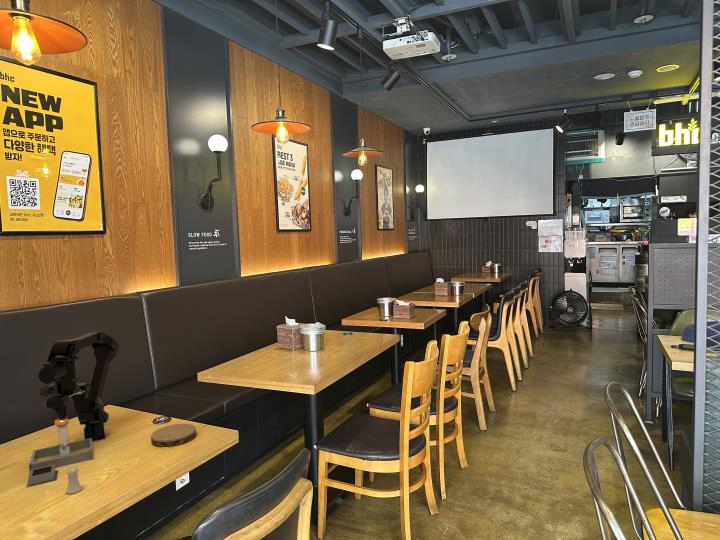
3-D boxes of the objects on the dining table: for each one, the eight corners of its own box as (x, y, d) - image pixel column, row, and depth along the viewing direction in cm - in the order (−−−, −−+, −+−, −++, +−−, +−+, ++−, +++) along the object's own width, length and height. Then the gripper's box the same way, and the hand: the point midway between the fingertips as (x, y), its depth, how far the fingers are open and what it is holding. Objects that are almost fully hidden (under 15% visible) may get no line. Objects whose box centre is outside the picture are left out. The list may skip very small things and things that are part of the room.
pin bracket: (58, 473, 157) (57, 462, 157) (57, 483, 150) (56, 472, 150) (29, 479, 153) (28, 469, 153) (26, 490, 146) (25, 479, 146)
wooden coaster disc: (169, 451, 170) (168, 443, 170) (142, 443, 179) (141, 435, 178) (205, 435, 184) (204, 427, 183) (178, 428, 192) (177, 420, 192)
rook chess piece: (70, 490, 145) (68, 465, 144) (85, 489, 145) (83, 464, 145) (62, 498, 140) (60, 472, 140) (78, 497, 141) (76, 471, 140)
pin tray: (92, 448, 175) (92, 437, 175) (93, 461, 164) (92, 450, 164) (34, 461, 166) (33, 450, 166) (30, 476, 155) (29, 464, 155)
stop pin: (72, 456, 167) (68, 416, 166) (72, 460, 164) (68, 420, 162) (59, 459, 165) (54, 419, 164) (58, 464, 162) (54, 423, 160)
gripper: (59, 369, 179) (62, 410, 180) (27, 384, 160) (31, 429, 161) (89, 367, 179) (93, 408, 180) (61, 382, 161) (64, 427, 162)
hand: (70, 418), depth 171 cm, fingers open, 9 cm apart
